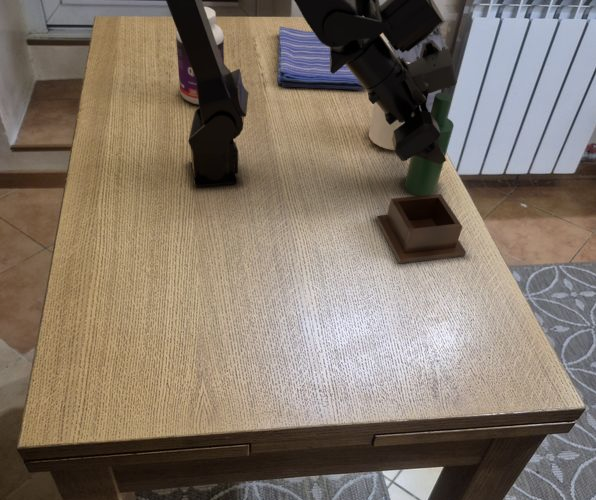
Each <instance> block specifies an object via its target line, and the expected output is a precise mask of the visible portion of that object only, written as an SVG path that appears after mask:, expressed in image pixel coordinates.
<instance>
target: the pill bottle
mask: <svg viewBox="0 0 596 500" xmlns="http://www.w3.org/2000/svg"><path fill="white" fill-rule="evenodd" d="M204 9H205V11H206V14H207V17H208V20H209V23H210V26H211V29H212V32H213V35H214V38H215V41H216V44H217V46H218V49H219V52H220V55H221V58H222V61H223V63H224V64H225V44H224V42H225V39H224V38H225V36H224V31H223V29H222V28H221V27H220V26H219V25H218V24H217V23H216V22H217V13H216V11H215V10H214V9H212V8H211V7H208V6H204ZM175 42H176V53H177V68H178V81H179V82H178V83H179V93H180V95H181V97H182V98H183V99H184V100H186V101H187V102H189V103H191V104H194V105H199V101H198V92H197V83H196V78H195V75H194V72H193V70H192V67H191V65H190V62H189V59H188V57H187V54H186V52H185V49H184V46H183V44H182V41H181V39H180V36H179V33H178V31H177V30H176V31H175Z"/></svg>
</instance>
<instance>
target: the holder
mask: <svg viewBox="0 0 596 500" xmlns="http://www.w3.org/2000/svg"><path fill="white" fill-rule="evenodd" d="M375 220H376V222H377V224H378V226H379V228H380V230H381V232H382V234H383V236H384V237H385V240H386V241H387V243H388V245H389V247H390V249H391V251H392V252H393V255H394V257H395V259H396V260H397V262H398V264H399V265H400V264H408V263H415V262H416V263H417V262H425V261H426V262H427V261H432V260H442V259H451V258H458V257H464V256H465V255H466V253H467V251H466V249H465V248H464V247H463V245H462V243H461V242H460V240H459V238H460V236H461V233H462V230H463V225H462V224H461V222H460V221H459V219H458V217H457V216H456V215H455V213H454V212H453V210H452V209H451V207H450V205H449V204H448V202H447V201H446V200H445V198H444V196H443V194H442V193H433V194H432V195H422V196H419V195H413V196H402V197H391V198H390V201H389V205H388V210H387V214H381V215H376V219H375Z"/></svg>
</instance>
